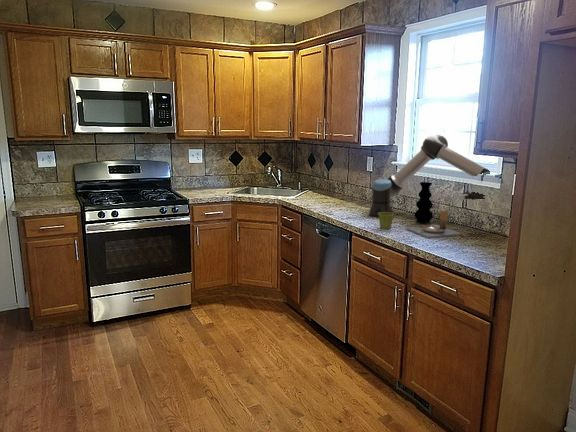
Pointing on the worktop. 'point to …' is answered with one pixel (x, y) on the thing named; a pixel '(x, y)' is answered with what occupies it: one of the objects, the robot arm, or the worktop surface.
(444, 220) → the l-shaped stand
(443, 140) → the robot arm
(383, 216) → the plant pot
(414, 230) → the base board
